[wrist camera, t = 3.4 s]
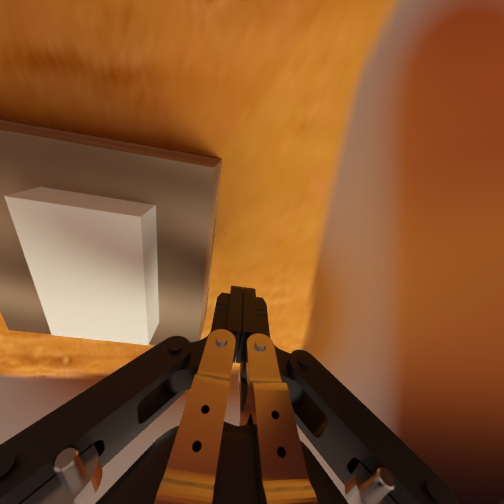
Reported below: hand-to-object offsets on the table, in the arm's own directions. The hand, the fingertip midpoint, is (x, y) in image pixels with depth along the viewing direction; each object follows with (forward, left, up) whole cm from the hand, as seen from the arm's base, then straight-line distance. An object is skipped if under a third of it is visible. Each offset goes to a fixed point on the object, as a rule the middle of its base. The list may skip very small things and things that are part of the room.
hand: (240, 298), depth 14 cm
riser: (0, -10, -5) cm, 11 cm away
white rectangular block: (0, -9, 0) cm, 9 cm away
